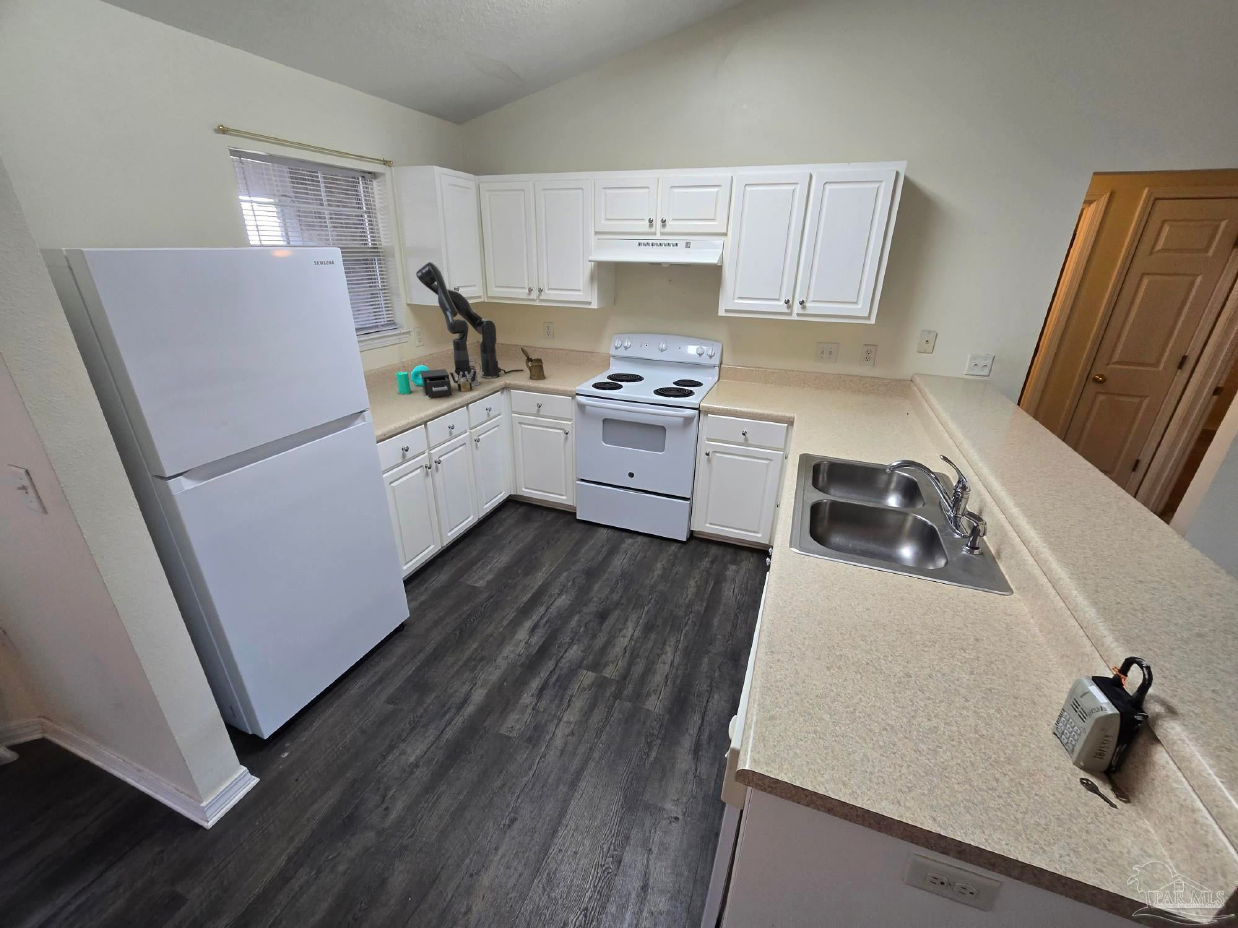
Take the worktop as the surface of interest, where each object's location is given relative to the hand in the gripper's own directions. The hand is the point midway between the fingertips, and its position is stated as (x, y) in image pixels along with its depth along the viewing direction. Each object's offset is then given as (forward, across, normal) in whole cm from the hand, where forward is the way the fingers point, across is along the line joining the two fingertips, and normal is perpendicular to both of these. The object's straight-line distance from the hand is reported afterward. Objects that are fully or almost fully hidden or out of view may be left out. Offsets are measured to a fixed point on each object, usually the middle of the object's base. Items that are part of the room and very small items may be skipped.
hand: (465, 389), depth 276 cm
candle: (+1, -30, +8) cm, 31 cm away
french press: (+1, +6, +13) cm, 14 cm away
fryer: (0, -14, +5) cm, 15 cm away
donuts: (+1, -20, +23) cm, 30 cm away
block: (0, 0, 0) cm, 0 cm away
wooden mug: (+1, +42, +13) cm, 44 cm away
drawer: (-1, -14, -7) cm, 16 cm away
